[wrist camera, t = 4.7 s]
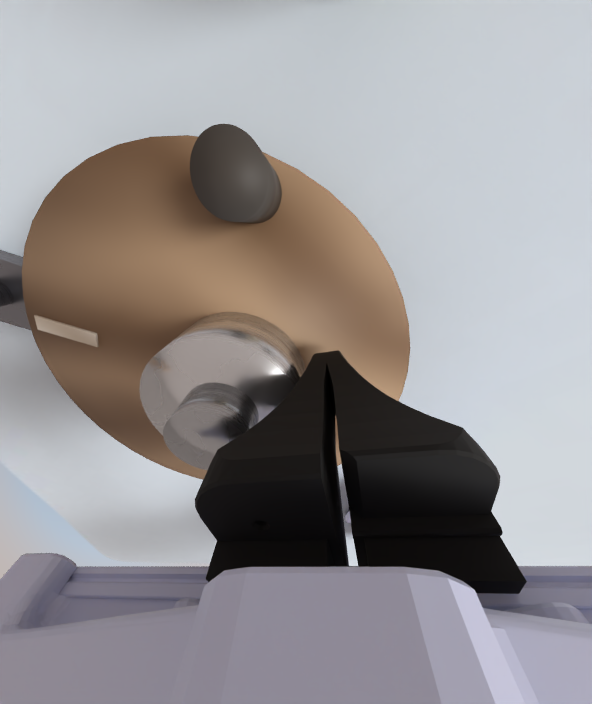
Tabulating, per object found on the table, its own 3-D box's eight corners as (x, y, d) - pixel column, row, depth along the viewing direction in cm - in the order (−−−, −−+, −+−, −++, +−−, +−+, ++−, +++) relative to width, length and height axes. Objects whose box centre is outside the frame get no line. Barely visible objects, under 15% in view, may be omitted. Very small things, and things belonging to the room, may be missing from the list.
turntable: (322, 494, 19) (324, 557, 16) (76, 430, 18) (13, 484, 14) (491, 249, 10) (595, 261, 6) (-5, 52, 8) (-271, -94, 4)
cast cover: (284, 433, 14) (272, 513, 10) (173, 401, 14) (115, 473, 10) (325, 339, 11) (332, 402, 7) (182, 291, 10) (99, 331, 6)
